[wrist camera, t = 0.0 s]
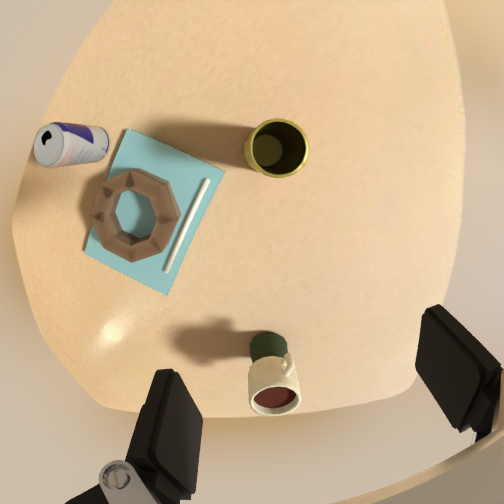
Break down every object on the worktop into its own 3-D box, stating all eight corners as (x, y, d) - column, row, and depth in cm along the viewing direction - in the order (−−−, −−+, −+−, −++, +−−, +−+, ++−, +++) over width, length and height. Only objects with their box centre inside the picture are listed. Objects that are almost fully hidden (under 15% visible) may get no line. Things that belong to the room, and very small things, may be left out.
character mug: (272, 371, 49) (280, 427, 36) (236, 361, 48) (235, 418, 35) (301, 326, 46) (319, 381, 33) (262, 313, 44) (269, 368, 32)
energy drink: (101, 119, 34) (55, 112, 22) (117, 147, 35) (72, 148, 24) (76, 141, 34) (27, 142, 23) (91, 169, 36) (43, 178, 25)
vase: (248, 177, 37) (252, 190, 24) (238, 133, 35) (235, 121, 22) (293, 167, 37) (320, 175, 24) (283, 124, 35) (305, 107, 22)
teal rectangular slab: (130, 129, 34) (125, 128, 33) (225, 171, 37) (224, 172, 35) (88, 250, 40) (82, 254, 38) (169, 291, 43) (166, 297, 41)
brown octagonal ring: (119, 159, 35) (109, 160, 31) (191, 192, 37) (186, 195, 33) (95, 231, 38) (84, 237, 34) (160, 264, 40) (153, 273, 37)
